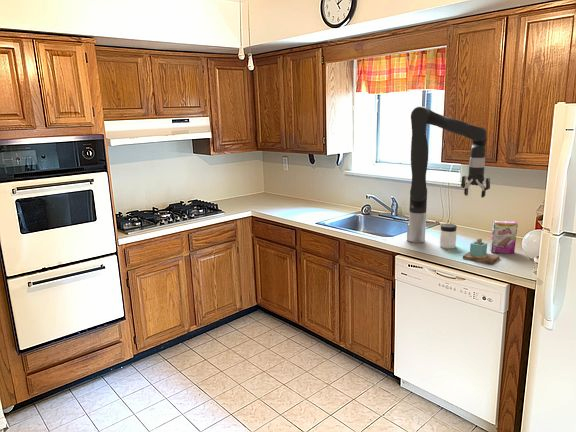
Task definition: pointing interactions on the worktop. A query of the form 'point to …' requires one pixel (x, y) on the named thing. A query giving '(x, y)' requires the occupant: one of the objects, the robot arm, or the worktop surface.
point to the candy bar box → (503, 237)
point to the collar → (478, 249)
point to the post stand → (485, 259)
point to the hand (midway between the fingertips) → (474, 196)
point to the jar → (448, 236)
